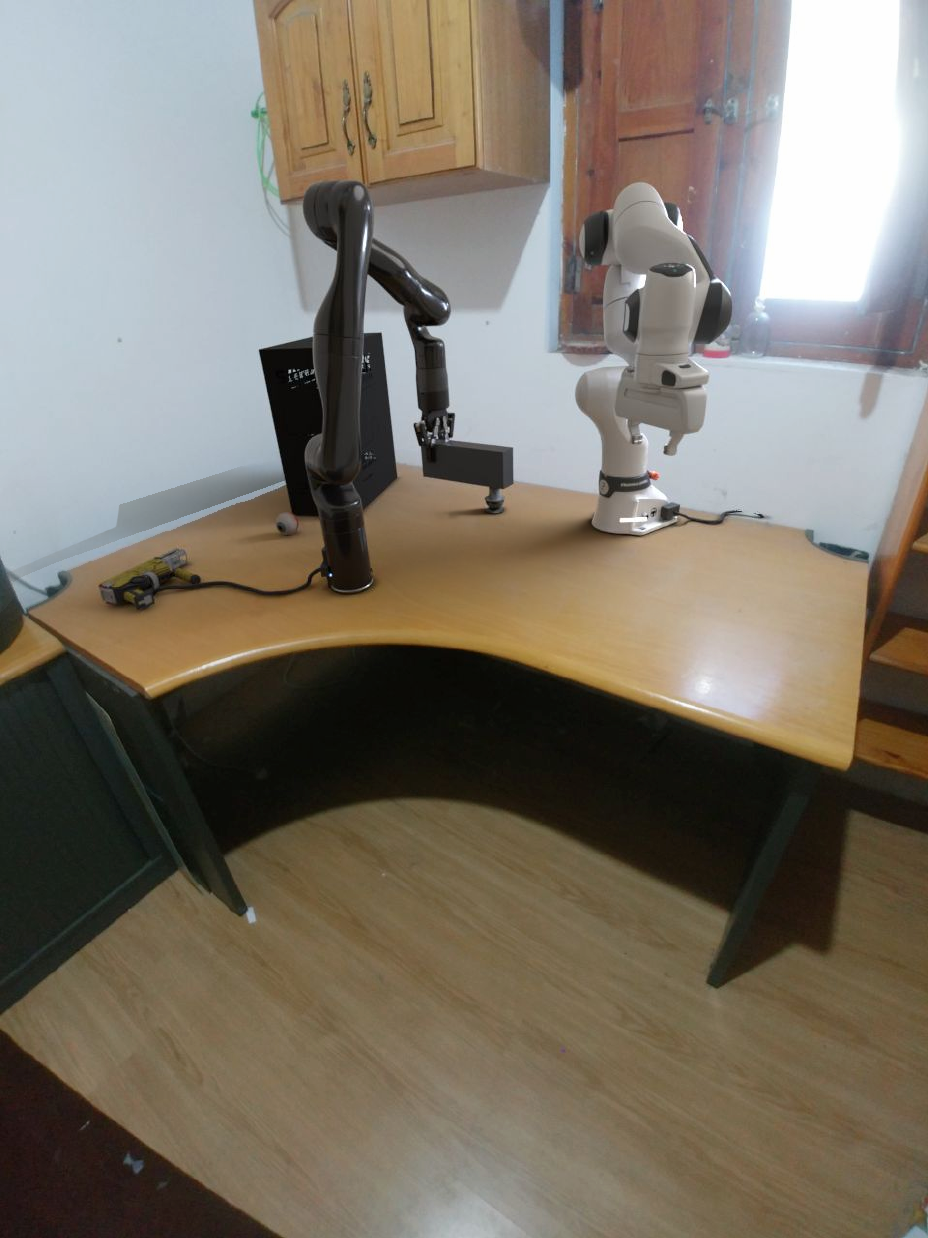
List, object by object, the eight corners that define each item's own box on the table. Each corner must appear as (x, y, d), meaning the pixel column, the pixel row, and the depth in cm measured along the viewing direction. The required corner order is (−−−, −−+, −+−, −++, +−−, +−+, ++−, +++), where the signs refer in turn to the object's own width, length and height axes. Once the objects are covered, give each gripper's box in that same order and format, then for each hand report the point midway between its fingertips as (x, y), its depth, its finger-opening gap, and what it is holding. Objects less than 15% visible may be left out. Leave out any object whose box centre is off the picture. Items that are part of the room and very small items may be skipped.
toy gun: (224, 556, 146) (173, 545, 150) (148, 597, 126) (92, 584, 130) (226, 573, 148) (177, 563, 152) (152, 617, 128) (97, 603, 132)
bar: (513, 483, 143) (513, 447, 138) (503, 489, 140) (502, 452, 135) (434, 471, 155) (431, 437, 151) (423, 476, 152) (420, 441, 147)
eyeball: (273, 537, 164) (268, 516, 161) (287, 528, 169) (282, 508, 166) (291, 539, 161) (286, 518, 158) (305, 530, 166) (301, 510, 163)
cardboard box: (355, 516, 174) (330, 347, 152) (292, 514, 179) (258, 349, 156) (397, 477, 206) (381, 332, 183) (342, 476, 210) (320, 334, 188)
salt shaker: (503, 513, 170) (502, 471, 164) (483, 513, 171) (481, 471, 165) (506, 506, 175) (506, 465, 169) (486, 506, 176) (485, 465, 170)
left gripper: (438, 381, 148) (442, 451, 157) (400, 391, 138) (407, 465, 147) (463, 383, 144) (466, 454, 153) (426, 393, 134) (432, 469, 143)
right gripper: (609, 366, 113) (604, 440, 120) (687, 378, 97) (676, 464, 104) (636, 362, 115) (630, 436, 122) (717, 374, 99) (704, 458, 106)
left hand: (437, 459), depth 150 cm, fingers closed on bar, 4 cm apart
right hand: (652, 449), depth 113 cm, fingers open, 8 cm apart
